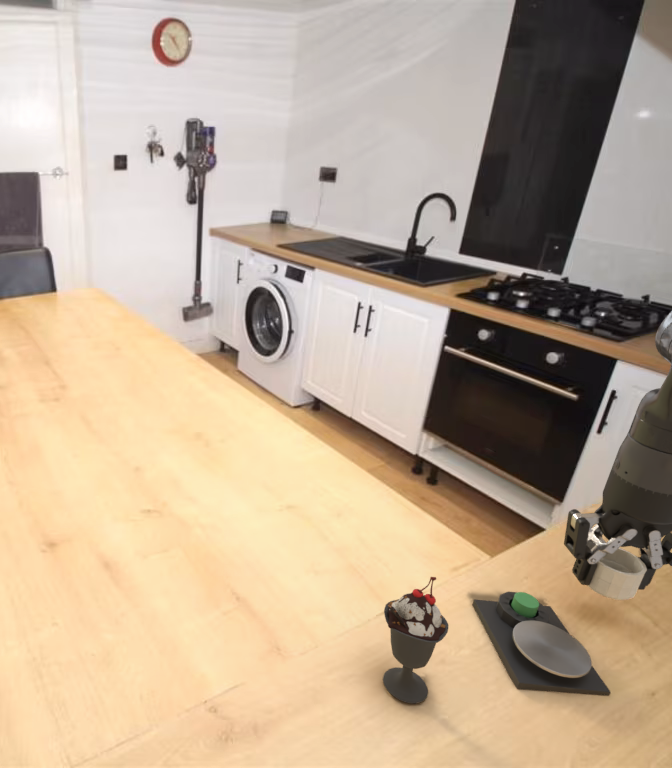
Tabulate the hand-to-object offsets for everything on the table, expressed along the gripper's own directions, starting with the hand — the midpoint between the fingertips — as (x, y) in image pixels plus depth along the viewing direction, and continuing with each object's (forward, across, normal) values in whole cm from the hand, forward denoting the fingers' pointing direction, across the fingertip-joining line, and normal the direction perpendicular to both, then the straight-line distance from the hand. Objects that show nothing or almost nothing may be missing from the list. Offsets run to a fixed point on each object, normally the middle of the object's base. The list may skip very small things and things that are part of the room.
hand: (608, 582), depth 71 cm
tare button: (+4, -10, -2) cm, 11 cm away
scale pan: (+4, -10, -9) cm, 14 cm away
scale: (+7, -10, -6) cm, 14 cm away
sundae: (+6, -28, -14) cm, 32 cm away
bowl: (+1, 0, 0) cm, 1 cm away
